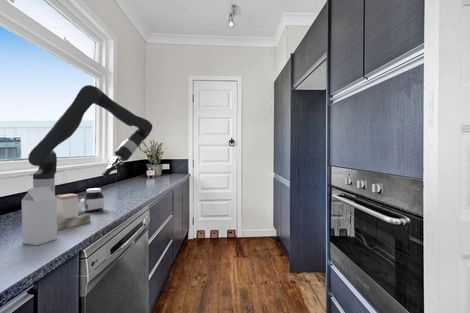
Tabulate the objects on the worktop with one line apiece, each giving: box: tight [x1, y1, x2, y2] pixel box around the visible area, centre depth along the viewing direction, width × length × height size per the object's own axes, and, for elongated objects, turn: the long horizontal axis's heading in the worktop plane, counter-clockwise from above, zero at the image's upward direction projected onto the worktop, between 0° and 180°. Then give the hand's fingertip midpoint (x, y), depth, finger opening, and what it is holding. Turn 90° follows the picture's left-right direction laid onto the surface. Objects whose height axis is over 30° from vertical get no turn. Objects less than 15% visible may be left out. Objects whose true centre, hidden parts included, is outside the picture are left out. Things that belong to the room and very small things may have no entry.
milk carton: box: [21, 186, 58, 246], centre depth 88 cm, size 7×7×19 cm
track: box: [57, 211, 92, 231], centre depth 107 cm, size 18×9×6 cm, turn 147°
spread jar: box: [78, 187, 105, 213], centre depth 133 cm, size 12×11×12 cm
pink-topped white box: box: [55, 193, 79, 220], centre depth 108 cm, size 6×6×11 cm
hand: (104, 175), depth 123 cm, fingers closed
